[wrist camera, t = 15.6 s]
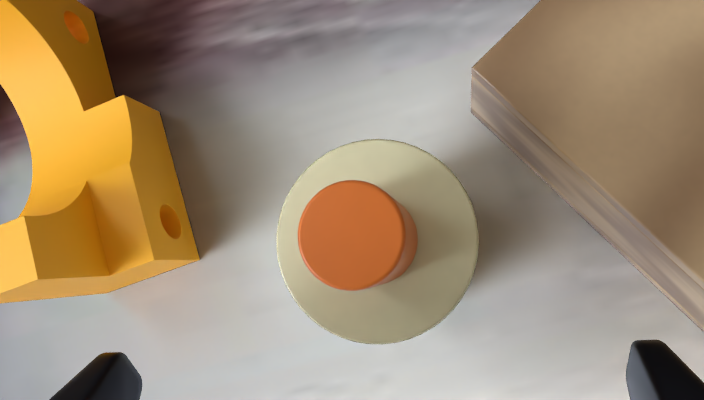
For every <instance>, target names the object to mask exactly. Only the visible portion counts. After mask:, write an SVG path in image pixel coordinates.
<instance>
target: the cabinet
mask: <svg viewBox="0 0 704 400" xmlns="http://www.w3.org/2000/svg"><path fill="white" fill-rule="evenodd" d="M471 74H472V80H471V113H472V114H473V115H475V116H476V117H477V118H478V119H479V120H480V121H481V122H482V123H483V124H484V125H485V126H486V127H487V128H488V129H489V130H490V131H491V132H493V133H494V134H495V135H496V136H497V137H498V138H499V139H500V140H501V141H502V142H503V143H504V144H505V145H506V146H507V147H508V148H509V149H511V150H512V151H513V152H514V153H515V154H516V155H517V156H518V157H519V158H520V159H521V160H522V161H523V162H524V163H525V164H526V165H527V166H529V167H530V168H531V169H532V170H533V171H534V172H535V173H536V174H537V175H538V176H539V177H540V178H541V179H542V180H543V181H544V182H545V183H547V184H548V185H549V186H550V187H551V188H552V189H553V190H554V191H555V192H556V193H557V194H558V195H559V196H560V197H561V198H562V199H564V200H565V201H566V202H567V203H568V204H569V205H570V206H571V207H572V208H573V209H574V210H575V211H576V212H577V213H578V214H579V215H580V216H582V217H583V218H584V219H585V220H586V221H587V222H588V223H589V224H590V225H591V226H592V227H593V228H594V229H595V230H596V231H597V232H598V233H600V234H601V235H602V236H603V237H604V238H605V239H606V240H607V241H608V242H609V243H610V244H611V245H612V246H613V247H614V248H615V249H616V250H618V251H619V252H620V253H621V254H622V255H623V256H624V257H625V258H626V259H627V260H628V261H629V262H630V263H631V264H632V265H633V266H634V267H636V268H637V269H638V270H639V271H640V272H641V273H642V274H643V275H644V276H645V277H646V278H647V279H648V280H649V281H650V282H651V283H652V284H654V285H655V286H656V287H657V288H658V289H659V290H660V291H661V292H662V293H663V294H664V295H665V296H666V297H667V298H668V299H669V300H671V301H672V302H673V303H674V304H675V305H676V306H677V307H678V308H679V309H680V310H681V311H682V312H683V313H684V314H685V315H686V316H687V317H689V318H690V319H691V320H692V321H693V322H694V323H695V324H696V325H697V326H698V327H699V328H700V329H701V330H702V331H703V332H704V0H541V1H539V2H538V3H537V4H536V5H535V6H534V7H533V8H532V9H531V10H530V11H529V12H528V13H527V14H526V15H525V16H524V17H523V18H522V19H521V20H520V21H519V22H518V23H517V24H516V25H515V26H514V27H513V28H512V29H511V30H510V31H509V32H508V33H507V34H506V35H505V36H504V37H503V38H502V39H501V40H499V41H498V42H497V43H496V44H495V45H494V46H493V47H492V48H491V49H490V50H489V51H488V52H487V53H486V54H485V55H484V56H483V57H482V58H481V59H480V60H479V61H478V62H477V63H476V64H475V65H474V66H473V67H472V73H471Z"/></svg>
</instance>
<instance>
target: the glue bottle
mask: <svg viewBox="0 0 704 400" xmlns="http://www.w3.org/2000/svg"><path fill="white" fill-rule="evenodd" d="M478 247H479V238H478V226H477V221H476V216H475V213H474V209H473V206H472V203H471V201H470V199H469V197H468V195H467V193H466V191H465V189H464V188H463V186H462V185H461V183H460V181H459V180H458V179H457V177H456V176H455V175H454V174H453V173H452V172H451V170H450V169H449V168H447V167H446V166H445V165H444V164H443V163H442V162H441V161H440V160H438V159H437V158H435V157H434V156H432V155H431V154H429V153H428V152H426V151H424V150H422V149H420V148H418V147H415V146H413V145H410V144H407V143H404V142H399V141H394V140H385V139H371V140H362V141H357V142H352V143H349V144H346V145H343V146H340V147H338V148H336V149H334V150H332V151H330V152H328V153H326V154H325V155H323V156H322V157H320V158H319V159H317V160H316V161H315V162H314V163H313V164H311V165H310V166H309V167H308V168H307V169H306V170H305V171H304V172H303V173H302V174H301V176H300V177H299V178H298V179H297V181H296V182H295V184H294V185H293V186H292V188H291V190H290V192H289V194H288V196H287V197H286V200H285V202H284V205H283V207H282V210H281V214H280V218H279V222H278V229H277V255H278V262H279V266H280V270H281V274H282V276H283V279H284V282H285V284H286V286H287V288H288V290H289V292H290V294H291V296H292V297H293V299H294V300H295V302H296V303H297V304H298V306H299V307H300V308H301V309H302V310H303V311H304V313H305V314H306V315H307V316H308V317H309V318H310V319H312V320H313V321H314V322H315V323H317V324H318V325H319V326H320V327H322V328H324V329H325V330H327V331H329V332H330V333H332V334H334V335H337V336H339V337H341V338H344V339H347V340H350V341H354V342H359V343H365V344H389V343H397V342H400V341H404V340H408V339H411V338H413V337H416V336H418V335H421V334H423V333H424V332H426V331H428V330H430V329H431V328H433V327H434V326H436V325H437V324H438V323H440V322H441V321H442V320H443V319H445V318H446V317H447V316H448V315H449V314H450V312H451V311H452V310H453V309H454V308H455V307H456V306H457V304H458V303H459V302H460V300H461V299H462V297H463V296H464V294H465V292H466V290H467V288H468V286H469V284H470V282H471V279H472V277H473V274H474V271H475V267H476V262H477V258H478Z"/></svg>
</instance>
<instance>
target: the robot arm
mask: <svg viewBox="0 0 704 400" xmlns="http://www.w3.org/2000/svg"><path fill="white" fill-rule="evenodd" d="M626 381H627V387H628V391H629V396H630V400H704V383H703V382H702V381H701V380H700V379H699V377H698V376H697V375H696V374H695V373H694V372H693V371H692V370H691V369H690V368H689V367H688V366H687V365H686V364H685V363H684V362H683V361H682V360H681V359H680V358H679V357H678V356H677V355H676V354H675V353H674V352H673V351H672V350H671V349H670V348H669V347H668V346H667V345H666V344H665V343H663V342H662V341H659V340H637V341H634V342H633V343H632V345H631V349H630V354H629V359H628V364H627V369H626ZM141 391H142V379H141V376H140V374H139V373H138V372H137V370H136V369H135V367H134V366H133V365H132V363H131V362H130V360H129V359H128V358H127V356H126V355H125V354H123V353H121V352H114V353H103V354H100V355H99V356H97V357H96V358H95V359H94V360H93V361H92V362H91V363H89V364H88V365H87V366H86V367H85V368H84V369H83V370H82V371H81V372H79V373H78V374H77V375H76V376H75V377H74V378H73V379H72V380H71V381H69V382H68V383H67V384H66V385H65V386H64V387H63V388H62V389H61V390H59V391H58V392H57V393H56V394H55V395H54V396H53V397H52V398H51V399H50V400H139V399H140V395H141Z"/></svg>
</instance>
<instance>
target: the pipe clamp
mask: <svg viewBox="0 0 704 400" xmlns="http://www.w3.org/2000/svg"><path fill="white" fill-rule="evenodd" d="M0 84H1V86H2V87H3V89H4V90H5V92H6V93H7V95H8V96H9V98H10V100H11V101H12V103H13V105H14V107H15V109H16V111H17V113H18V115H19V117H20V119H21V121H22V124H23V126H24V129H25V132H26V135H27V138H28V141H29V146H30V150H31V156H32V165H33V177H32V186H31V192H30V195H29V198H28V201H27V203H26V206H25V208H24V210H23V211H22V213H21V214H20V216H19V217H18V218H17V219H14V220H12V221H9V222H7V223H4V224H2V225H0V303H8V302H19V301H30V300H40V299H51V298H61V297H72V296H82V295H93V294H103V293H108V292H111V291H114V290H117V289H119V288H122V287H125V286H128V285H131V284H133V283H136V282H139V281H142V280H145V279H147V278H150V277H153V276H156V275H159V274H161V273H164V272H167V271H170V270H173V269H175V268H178V267H181V266H184V265H187V264H189V263H192V262H195V261H198V260H200V259H199V255H198V251H197V248H196V244H195V240H194V237H193V233H192V229H191V226H190V222H189V218H188V215H187V211H186V207H185V204H184V200H183V196H182V193H181V189H180V185H179V182H178V178H177V174H176V171H175V167H174V163H173V160H172V156H171V152H170V149H169V145H168V141H167V138H166V134H165V131H164V127H163V123H162V120H161V116H160V112H159V111H157V110H154V109H152V108H150V107H148V106H146V105H144V104H142V103H140V102H138V101H136V100H134V99H132V98H129V97H127V96H125V95H122V96H119V97H117V98H116V97H115V93H114V90H113V86H112V82H111V78H110V74H109V70H108V66H107V63H106V59H105V55H104V51H103V47H102V43H101V39H100V36H99V32H98V28H97V24H96V20H95V16H94V12H93V11H92V10H90V9H89V8H87V7H86V6H84V5H83V4H81V3H80V2H78V1H77V0H0Z"/></svg>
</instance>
